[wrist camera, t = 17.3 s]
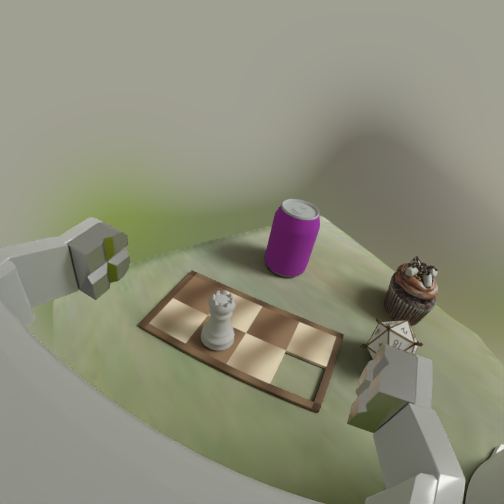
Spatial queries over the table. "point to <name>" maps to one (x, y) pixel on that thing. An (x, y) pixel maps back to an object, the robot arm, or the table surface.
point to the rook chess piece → (219, 322)
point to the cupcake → (412, 291)
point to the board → (244, 336)
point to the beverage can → (292, 237)
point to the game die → (393, 336)
